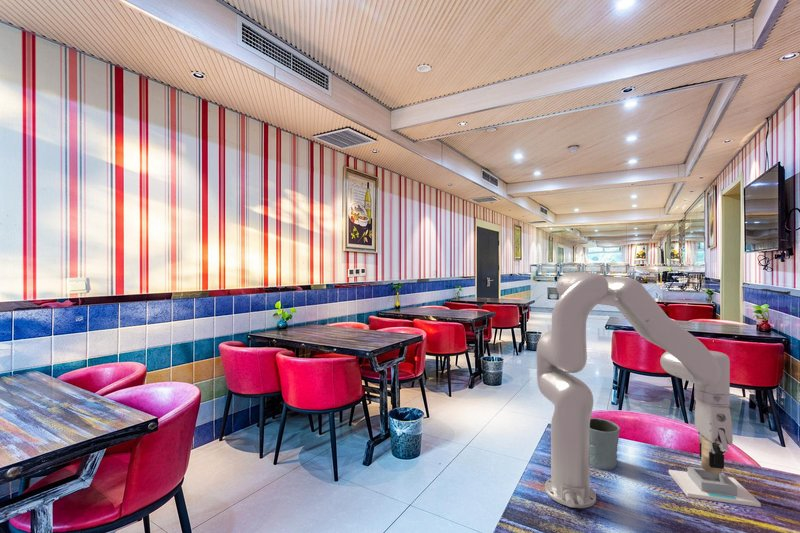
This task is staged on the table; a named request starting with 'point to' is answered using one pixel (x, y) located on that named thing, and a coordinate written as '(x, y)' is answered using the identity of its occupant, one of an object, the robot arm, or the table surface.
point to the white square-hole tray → (712, 487)
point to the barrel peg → (705, 456)
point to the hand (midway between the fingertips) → (711, 462)
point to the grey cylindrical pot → (603, 443)
